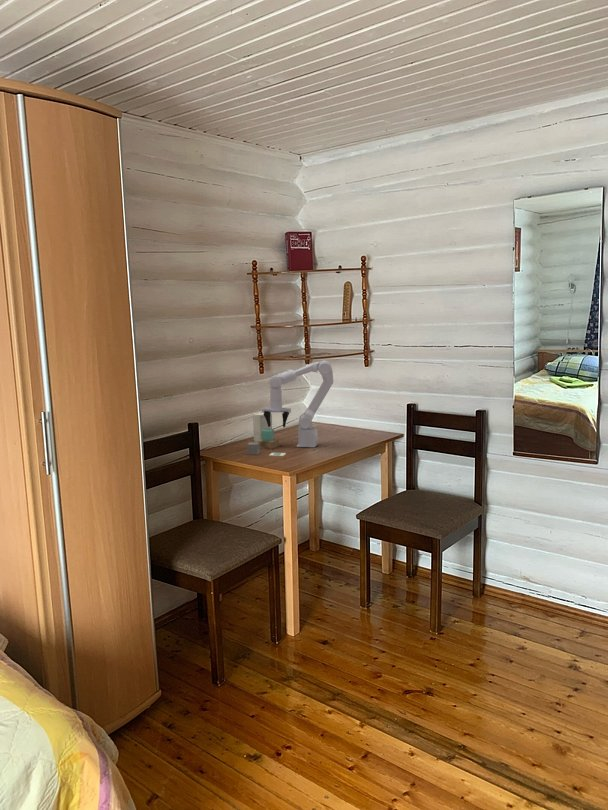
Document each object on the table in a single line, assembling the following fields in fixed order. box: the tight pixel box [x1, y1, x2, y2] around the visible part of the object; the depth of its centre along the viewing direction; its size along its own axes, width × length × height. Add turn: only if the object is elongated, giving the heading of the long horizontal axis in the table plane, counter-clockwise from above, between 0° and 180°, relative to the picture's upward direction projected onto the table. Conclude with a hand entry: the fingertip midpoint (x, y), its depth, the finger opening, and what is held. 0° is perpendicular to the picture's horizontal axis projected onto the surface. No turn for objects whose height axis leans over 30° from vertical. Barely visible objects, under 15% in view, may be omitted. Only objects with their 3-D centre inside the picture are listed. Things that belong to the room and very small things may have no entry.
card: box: [268, 452, 287, 457], centre depth 311 cm, size 7×5×1 cm
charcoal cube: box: [246, 441, 261, 456], centre depth 315 cm, size 5×5×5 cm
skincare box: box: [252, 412, 273, 442], centre depth 340 cm, size 8×6×15 cm
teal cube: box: [262, 428, 275, 441], centre depth 327 cm, size 5×5×5 cm
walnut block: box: [257, 438, 280, 450], centre depth 328 cm, size 8×8×4 cm
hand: (276, 426), depth 328 cm, fingers open, 7 cm apart
